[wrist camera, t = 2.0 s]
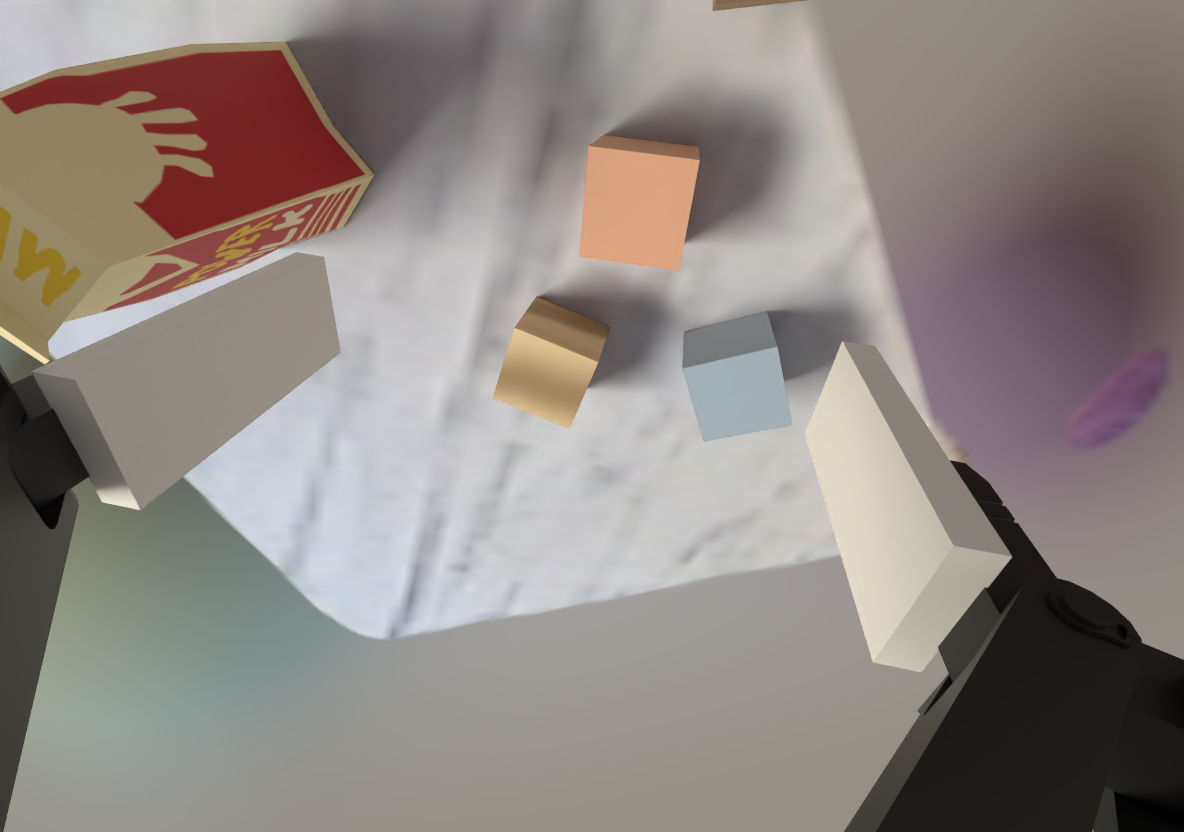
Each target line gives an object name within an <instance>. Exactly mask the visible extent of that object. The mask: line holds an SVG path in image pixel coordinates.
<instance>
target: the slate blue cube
mask: <svg viewBox="0 0 1184 832" xmlns="http://www.w3.org/2000/svg"><path fill="white" fill-rule="evenodd" d="M682 369H683V372H684V376H685V379H686V382H687V386H688V389H689V393H690V396H691V400H692V403H693V406H694V410H695V413H696V417H697V420H698V424H699V427H700V430H701V434H702V437H703V441H704V442H705V441H710V440H715V439H721V438H726V437H732V436H737V435H742V434H748V433H753V432H758V431H764V430H769V429H775V428H780V427H785V426H791V425H792V420H791V415H790V410H789V405H788V399H787V394H786V389H785V384H784V379H783V373H782V368H781V363H780V358H779V352H778V347H777V344H776V340H775V337H774V334H773V330H772V327H771V324H770V320H769V317H768V314H767V311H766V312H762V313H758V314H754V315H750V316H746V317H742V318H738V319H734V320H730V321H726V322H722V323H718V324H714V325H710V326H706V327H702V328H698V329H694V330H690V331H686V332H684V344H683V368H682Z"/></svg>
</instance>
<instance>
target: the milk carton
mask: <svg viewBox="0 0 1184 832" xmlns="http://www.w3.org/2000/svg"><path fill="white" fill-rule="evenodd" d="M373 177H374V174H373V172H372V171H371V170H370V169H369V168H368V166H367V165H366V164H365V163H364V162H363V161H362V159H361V158H360V157H359V156H358V155H357V154H356V152H355V151H354V150H353V149H352V148H351V146H350V145H349V144H348V143H347V142H346V141H345V139H344V138H343V137H342V136H341V135H340V134H339V132H338V131H337V130H336V129H335V128H334V126H333V124H332V123H331V121H330V119H329V117H328V116H327V114H326V112H325V110H324V109H323V107H322V105H321V103H320V101H319V100H318V98H317V96H316V94H315V93H314V91H313V89H312V87H311V86H310V84H309V82H308V80H307V78H306V77H305V75H304V73H303V71H302V70H301V68H300V66H299V64H298V63H297V61H296V59H295V57H294V55H293V54H292V52H291V50H290V48H289V47H288V45H287V43H286V42H259V43H221V44H190V45H185V46H180V47H174V48H169V49H164V50H158V51H153V52H148V53H142V54H137V55H132V56H127V57H121V58H116V59H111V60H105V61H100V62H95V63H89V64H84V65H79V66H73V67H68V68H63V69H58V70H54V71H51V72H49V73H46V74H44V75H41V76H39V77H36V78H34V79H31V80H29V81H26V82H24V83H21V84H19V85H17V86H14V87H12V88H9V89H7V90H4V91H2V92H0V335H1V336H3V337H4V338H6V339H7V340H9V341H10V342H12V343H13V344H15V345H16V346H18V347H19V348H21V349H22V350H24V351H25V352H27V353H29V354H30V355H32V356H33V357H35V358H36V359H38V360H39V361H41V362H42V363H44V364H46V363H47V362H48V361H49V350H48V340H49V339H50V338H51V337H52V336H53V334H54V333H55V332H56V331H57V329H58V328H59V327H60V326H61V325H62V323H63V322H66V321H70V320H74V319H78V318H82V317H86V316H89V315H93V314H97V313H101V312H105V311H109V310H113V309H117V308H121V307H124V306H128V305H132V304H136V303H140V302H144V301H148V300H152V299H154V298H157V297H160V296H163V295H166V294H168V293H171V292H174V291H177V290H180V289H182V288H185V287H188V286H191V285H193V284H196V283H199V282H202V281H205V280H207V279H210V278H213V277H216V276H219V275H221V274H224V273H227V272H230V271H233V270H235V269H238V268H240V267H242V266H244V265H246V264H248V263H250V262H252V261H254V260H256V259H258V258H260V257H262V256H264V255H267V254H269V253H271V252H273V251H275V250H277V249H279V248H282V247H285V246H288V245H291V244H294V243H297V242H300V241H303V240H306V239H309V238H312V237H315V236H318V235H321V234H324V233H327V232H330V231H333V230H336V229H339V228H342V227H344V226H345V224H346V222H347V220H348V219H349V217H350V215H351V214H352V212H353V210H354V209H355V207H356V205H357V204H358V202H359V200H360V199H361V197H362V195H363V194H364V192H365V190H366V189H367V187H368V185H369V183H370V182H371V180H372V178H373Z"/></svg>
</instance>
